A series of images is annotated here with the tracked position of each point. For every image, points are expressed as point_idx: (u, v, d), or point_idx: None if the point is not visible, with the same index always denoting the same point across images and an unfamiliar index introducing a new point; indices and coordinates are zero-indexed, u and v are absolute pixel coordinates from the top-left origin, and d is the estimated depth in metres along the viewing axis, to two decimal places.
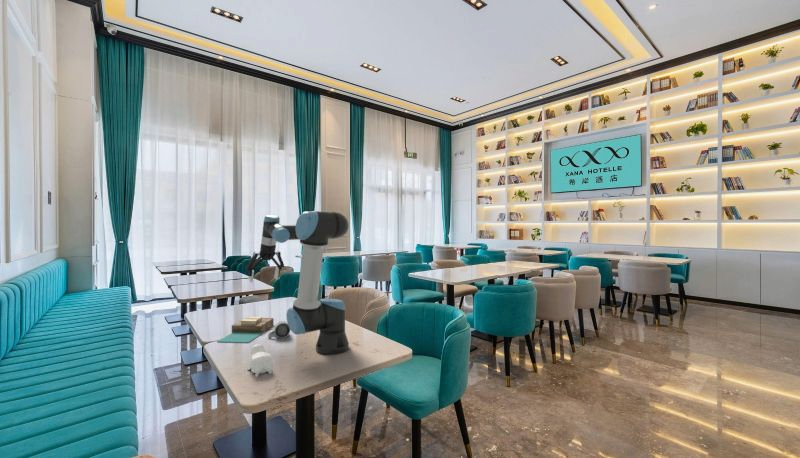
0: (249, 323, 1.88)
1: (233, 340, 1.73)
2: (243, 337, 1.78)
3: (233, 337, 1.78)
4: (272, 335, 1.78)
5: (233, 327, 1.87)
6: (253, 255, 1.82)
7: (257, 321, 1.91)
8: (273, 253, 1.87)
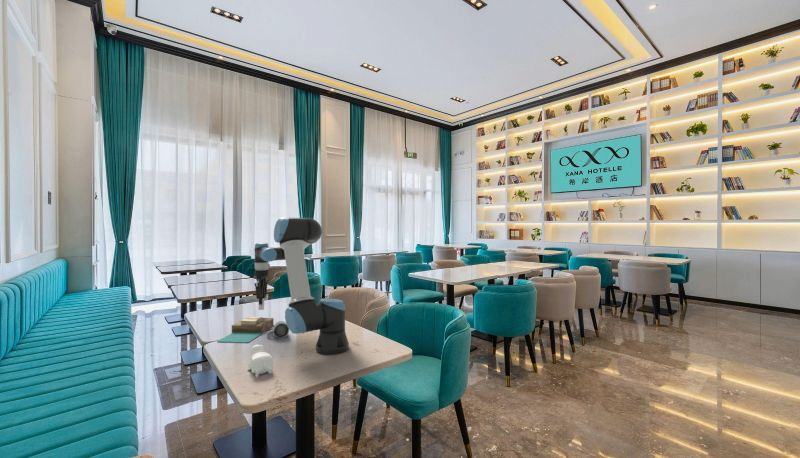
0: (249, 323, 1.88)
1: (233, 340, 1.73)
2: (243, 337, 1.78)
3: (233, 337, 1.78)
4: (271, 335, 1.77)
5: (233, 327, 1.87)
6: (256, 286, 1.99)
7: (257, 321, 1.91)
8: (265, 277, 2.07)
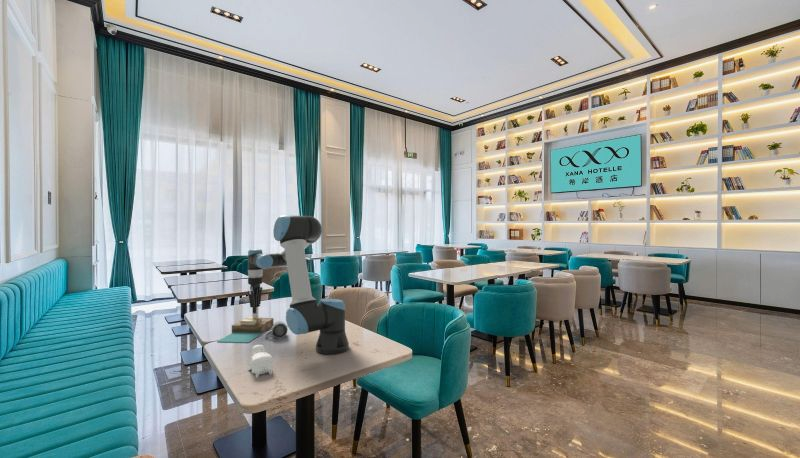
0: (249, 323, 1.88)
1: (233, 340, 1.73)
2: (243, 337, 1.78)
3: (233, 337, 1.78)
4: (269, 335, 1.77)
5: (233, 327, 1.87)
6: (249, 294, 1.91)
7: (257, 321, 1.90)
8: (259, 285, 1.99)
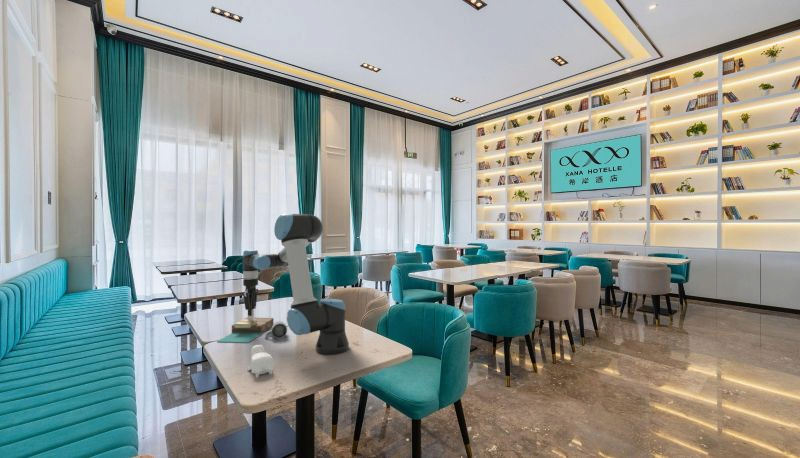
0: (243, 326, 1.82)
1: (233, 340, 1.73)
2: (243, 337, 1.78)
3: (233, 337, 1.78)
4: (269, 335, 1.77)
5: (233, 327, 1.87)
6: (244, 296, 1.86)
7: (251, 324, 1.85)
8: (255, 287, 1.94)
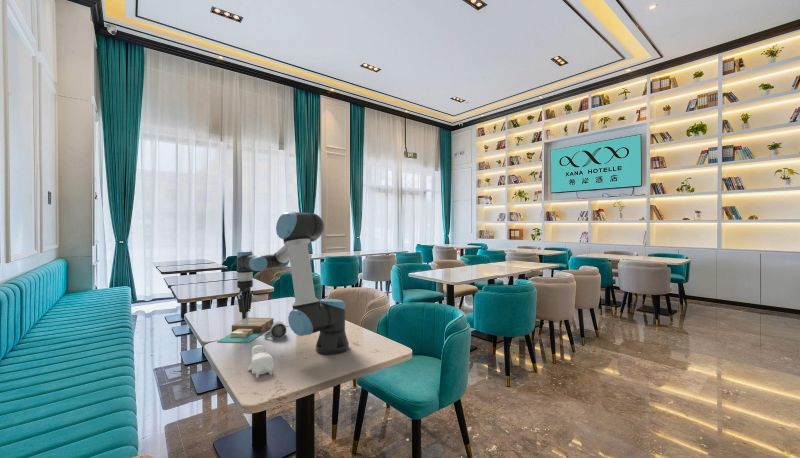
0: (239, 336, 1.78)
1: (233, 340, 1.73)
2: (243, 337, 1.78)
3: (233, 337, 1.78)
4: (268, 335, 1.77)
5: (233, 327, 1.87)
6: (238, 298, 1.80)
7: (248, 333, 1.81)
8: (250, 289, 1.88)
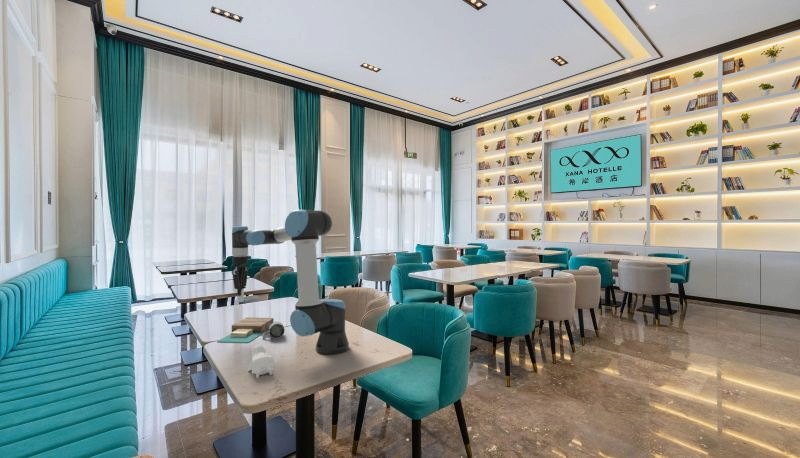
0: (239, 336, 1.78)
1: (233, 340, 1.73)
2: (243, 337, 1.78)
3: (233, 337, 1.78)
4: (266, 336, 1.77)
5: (233, 327, 1.87)
6: (233, 274, 1.75)
7: (248, 333, 1.81)
8: (245, 265, 1.83)
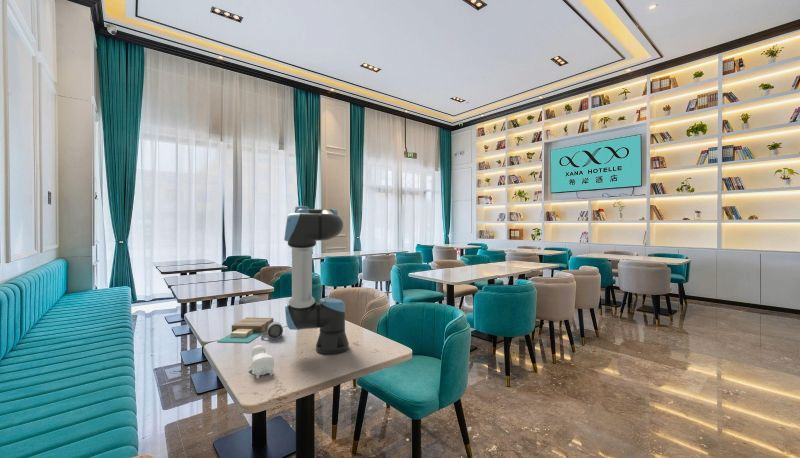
0: (239, 336, 1.78)
1: (233, 340, 1.73)
2: (243, 337, 1.78)
3: (233, 337, 1.78)
4: (265, 336, 1.76)
5: (233, 327, 1.87)
6: None
7: (248, 333, 1.81)
8: None
